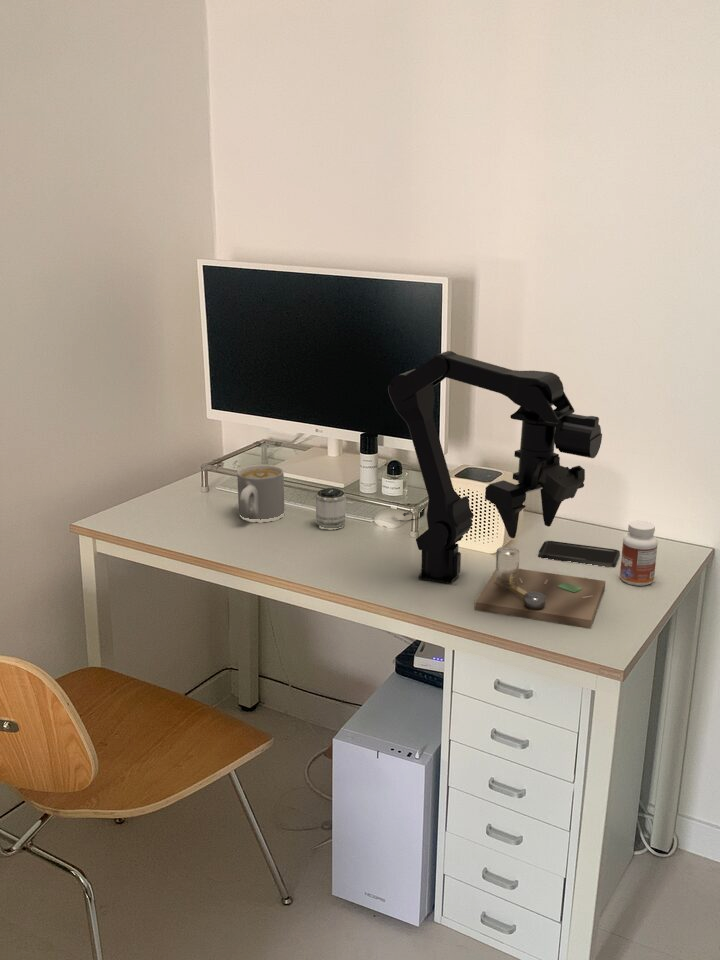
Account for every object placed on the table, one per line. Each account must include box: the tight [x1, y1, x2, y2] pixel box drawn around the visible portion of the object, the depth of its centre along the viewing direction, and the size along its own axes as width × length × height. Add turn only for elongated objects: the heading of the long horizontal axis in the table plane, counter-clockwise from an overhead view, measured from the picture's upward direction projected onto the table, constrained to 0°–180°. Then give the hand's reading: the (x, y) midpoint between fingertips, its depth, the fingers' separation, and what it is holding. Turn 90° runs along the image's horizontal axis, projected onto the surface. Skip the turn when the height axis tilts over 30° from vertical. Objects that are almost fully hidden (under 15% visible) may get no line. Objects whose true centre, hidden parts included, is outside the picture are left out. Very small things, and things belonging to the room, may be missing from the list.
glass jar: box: [315, 487, 347, 528], centre depth 216 cm, size 6×6×8 cm
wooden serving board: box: [474, 568, 606, 629], centre depth 182 cm, size 20×17×2 cm
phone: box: [538, 540, 621, 568], centre depth 201 cm, size 8×1×15 cm
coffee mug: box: [236, 464, 285, 520], centre depth 220 cm, size 13×10×10 cm
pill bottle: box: [619, 519, 659, 587], centre depth 188 cm, size 6×6×11 cm
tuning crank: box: [493, 546, 546, 609], centre depth 179 cm, size 13×4×7 cm, turn 29°
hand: (530, 531), depth 179 cm, fingers open, 9 cm apart
